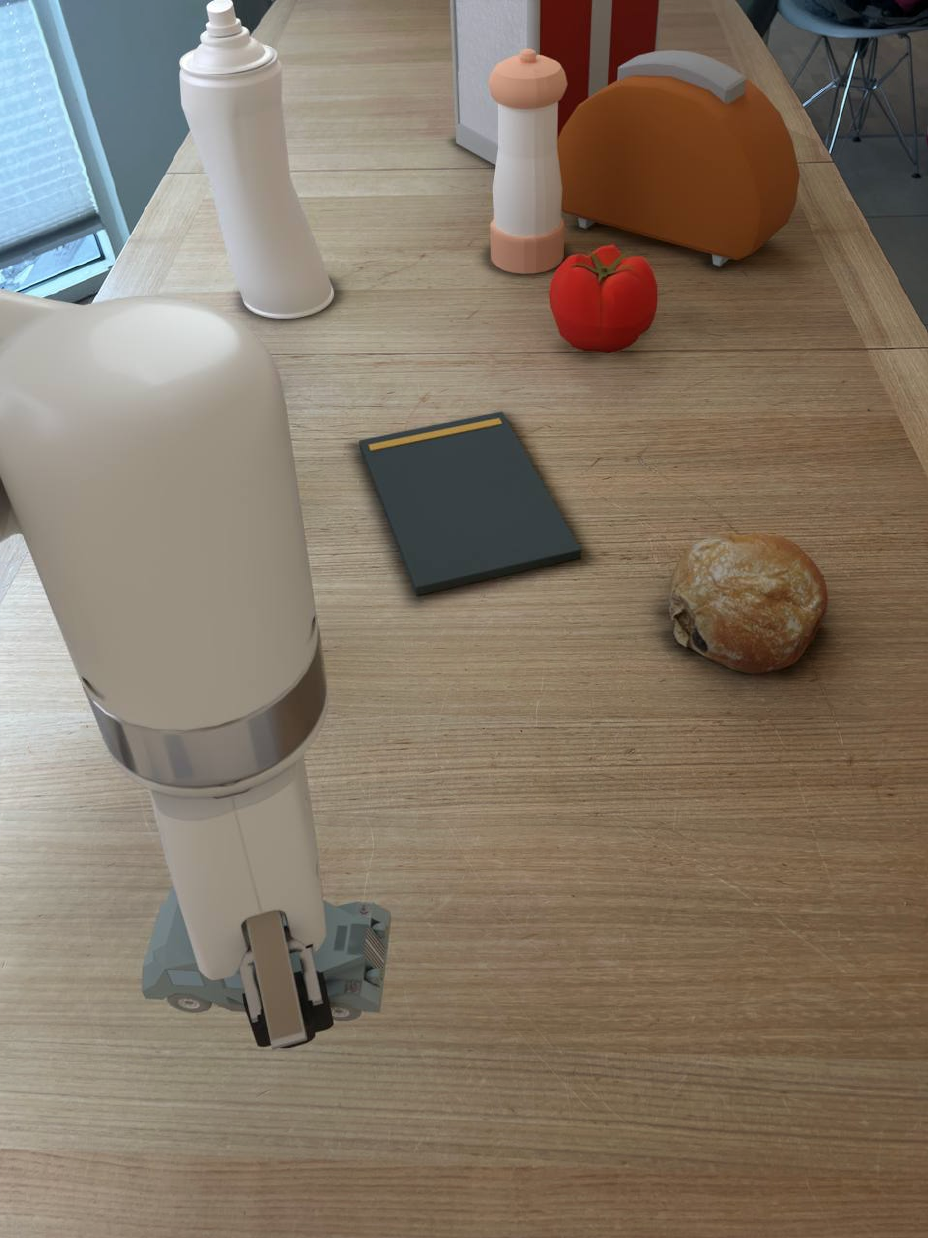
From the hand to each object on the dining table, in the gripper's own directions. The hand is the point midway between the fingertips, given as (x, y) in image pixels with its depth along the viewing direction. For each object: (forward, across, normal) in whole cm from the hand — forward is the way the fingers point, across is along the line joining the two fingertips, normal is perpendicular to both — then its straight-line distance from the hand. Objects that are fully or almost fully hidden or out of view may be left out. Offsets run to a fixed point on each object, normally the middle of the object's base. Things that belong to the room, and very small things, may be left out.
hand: (278, 940), depth 47 cm
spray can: (+8, -73, +11) cm, 74 cm away
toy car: (+1, 0, 0) cm, 1 cm away
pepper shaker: (+7, -71, +36) cm, 80 cm away
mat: (+7, -36, +19) cm, 41 cm away
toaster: (+6, -71, +51) cm, 87 cm away
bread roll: (+6, -18, +33) cm, 38 cm away
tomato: (+7, -54, +37) cm, 66 cm away
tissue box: (+7, -97, +48) cm, 108 cm away
